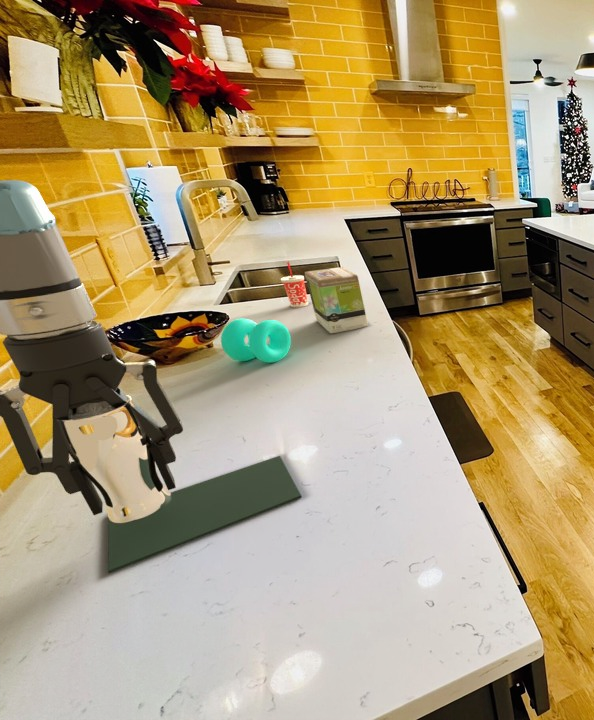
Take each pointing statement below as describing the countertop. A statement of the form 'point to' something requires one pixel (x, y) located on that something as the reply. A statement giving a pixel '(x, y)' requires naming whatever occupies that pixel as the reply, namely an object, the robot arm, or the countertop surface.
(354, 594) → the countertop surface
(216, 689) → the countertop surface
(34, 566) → the countertop surface
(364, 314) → the tea box
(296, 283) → the beverage cup
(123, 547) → the mat
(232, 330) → the donuts
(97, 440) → the beer glass
